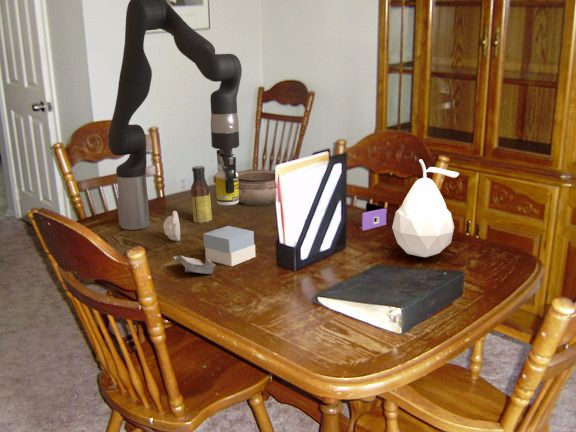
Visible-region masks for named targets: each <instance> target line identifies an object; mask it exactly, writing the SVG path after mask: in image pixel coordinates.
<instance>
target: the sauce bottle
mask: <svg viewBox="0 0 576 432" xmlns="http://www.w3.org/2000/svg"><path fill="white" fill-rule="evenodd" d="M191 171H192V175H193V176H192V177H193V179H192V180H193V182H192V185H191V187H190V192H191V205H192V207H191V208H192V216H193V217H192V218H193V222H194V223H195V224H198V225H201V224H209V223H211V222H212V221H213V214H212V213H213V212H212V203H211V201H212V200H211V190H210V187H209V185H208V183H207V179H206V176H205V171H206V170H205V166H203V165H196V166H192V167H191Z"/></svg>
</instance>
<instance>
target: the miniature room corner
mask: <svg viewBox="0 0 576 432" xmlns="http://www.w3.org/2000/svg"><path fill="white" fill-rule="evenodd" d="M365 204H366V206H365V207H366V209H365V212H362V214H361V226H360V227H358V228H359V229H361V231H366V230H372V229H374V228H378V227H382V226H383V227H384V226H385V225H388V208H387V207H384V206H381V205H377V204H374V203H370V202H367V203H365Z"/></svg>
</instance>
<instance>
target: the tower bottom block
mask: <svg viewBox="0 0 576 432" xmlns="http://www.w3.org/2000/svg"><path fill="white" fill-rule="evenodd" d="M204 250H205V251H204V252H205V253H204V254H205V261H206V260H207V259H209V260H211V261H212V262H214V263H217V264H221V265H225V266H230V267H234V266H236V265H238V264H239V265H240V264H241V263H243V262H246V261H249V260H251V259H254V258H256V244H255V243H254V245H252V246H250V247H247V248H244V249H241V250H239V251H236V252H233V253H230V254H229V253H225V252H221V251H217V250H213V249H209V248H205V247H204Z"/></svg>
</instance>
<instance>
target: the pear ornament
mask: <svg viewBox="0 0 576 432" xmlns="http://www.w3.org/2000/svg"><path fill="white" fill-rule="evenodd" d="M418 162H419V163H420V166H421V169H422V174H423V175H422V177H421V178H418V179H417V180H416V181H415V182H414V184H413V185H412V187H411V188H410V190H409V191H408V192H407V195H406V196H405V198H404V200H403V202H402V204H401V206H400V207H399V208H398V209H397V210H396V211H395V214H394V218H393V223H392V226H391V227H392V232H393V234H394V237H395V240H396V242H397V244H398V245H399V246H400V248H401V249H403V251H404V252H405V253H406V254H407V255H412V256H416V257H422V258H428V257H431V256H432V257H433V256H435V255H438V254H440V253H441V252H442V251H443V250H445V249H446V247H448V246H449V245H450V244H451V243H452V240H453V234H454V230H455V225H454V221H453V216H452V213H451V211H449V209H448V208H447V204H446V202H445V200H444V198H443V195H442V194H441V191H440V190H439V188H438V186H437V184H436V183H435V182H434V180H433V179H431V178H429V177H427V173H433V174H440V175H443V176H446V177H449V178H453V179H455V178H457V177H459V175H460V172H457V171H454V170H453V171H452V170H448V169H444V168H440V167H435V166H430V167H428V168H427V169H426V165H425V163H424V160H423V159H419V160H418Z"/></svg>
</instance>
